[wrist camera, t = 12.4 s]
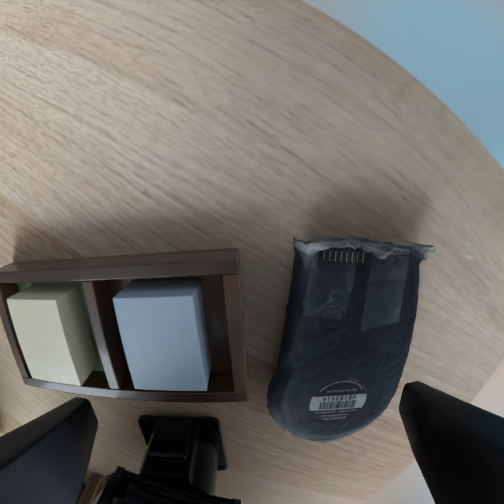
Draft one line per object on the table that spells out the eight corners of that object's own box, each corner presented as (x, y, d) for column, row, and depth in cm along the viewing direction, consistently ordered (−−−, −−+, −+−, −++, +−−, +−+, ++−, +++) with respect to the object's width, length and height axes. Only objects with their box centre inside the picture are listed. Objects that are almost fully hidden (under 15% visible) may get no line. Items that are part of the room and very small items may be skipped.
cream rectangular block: (98, 363, 20) (81, 386, 17) (51, 358, 20) (32, 378, 17) (78, 284, 18) (55, 299, 15) (30, 285, 18) (6, 298, 15)
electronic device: (271, 231, 20) (260, 432, 21) (297, 233, 15) (276, 480, 16) (394, 237, 21) (368, 417, 23) (444, 241, 16) (401, 452, 17)
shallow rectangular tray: (248, 376, 21) (248, 401, 18) (41, 367, 21) (25, 384, 18) (238, 247, 19) (237, 258, 16) (12, 262, 19) (-11, 272, 16)
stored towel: (211, 364, 20) (206, 391, 17) (147, 364, 20) (134, 389, 17) (200, 277, 18) (192, 295, 16) (130, 281, 18) (112, 297, 16)
